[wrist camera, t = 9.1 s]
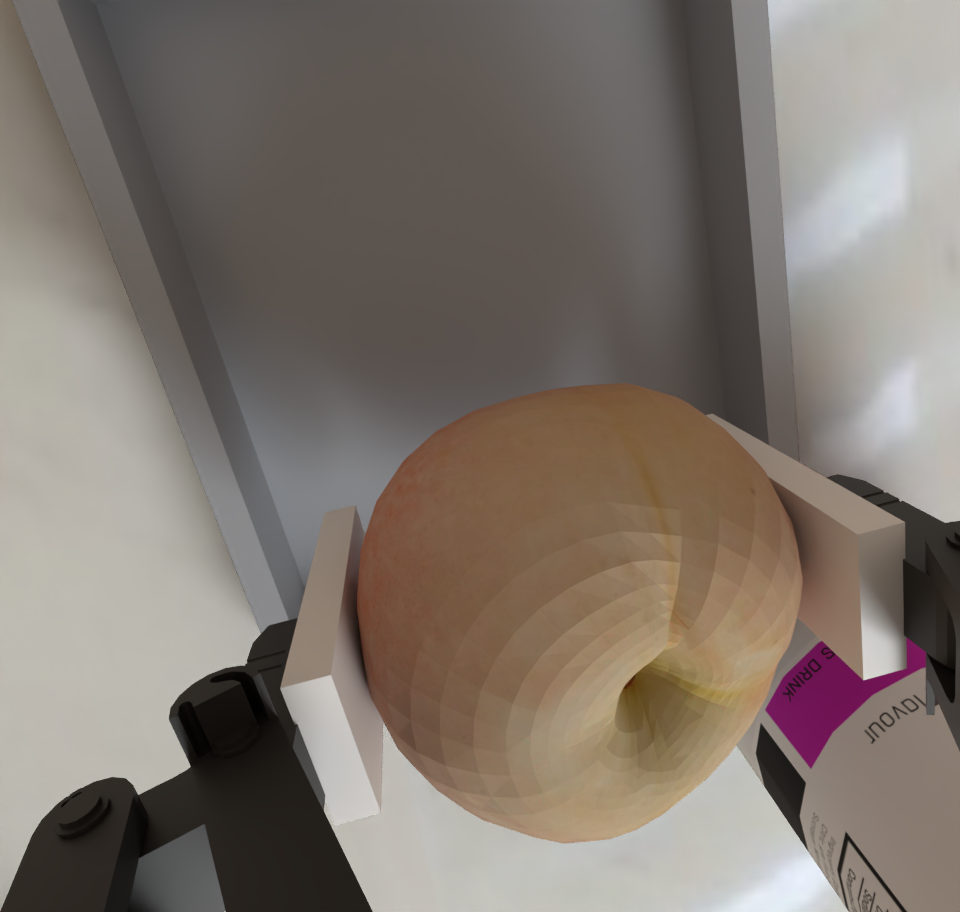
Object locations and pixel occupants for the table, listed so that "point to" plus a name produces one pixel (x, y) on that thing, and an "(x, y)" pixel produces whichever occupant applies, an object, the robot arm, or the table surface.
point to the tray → (422, 225)
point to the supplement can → (863, 777)
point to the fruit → (575, 607)
